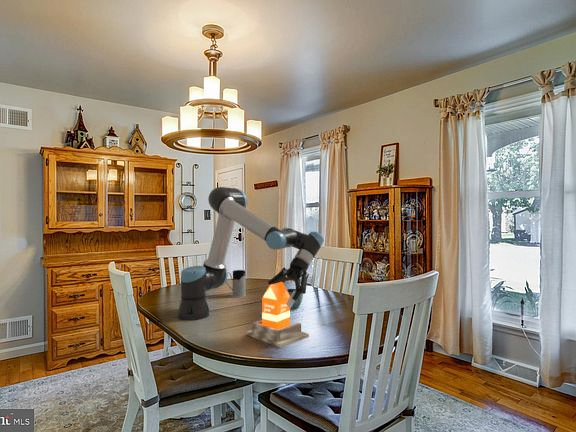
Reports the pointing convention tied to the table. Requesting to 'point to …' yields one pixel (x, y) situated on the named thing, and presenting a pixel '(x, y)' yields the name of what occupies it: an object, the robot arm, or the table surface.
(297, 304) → the flower pot
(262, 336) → the keeper bracket
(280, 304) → the orange juice
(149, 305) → the table surface
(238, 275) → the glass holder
